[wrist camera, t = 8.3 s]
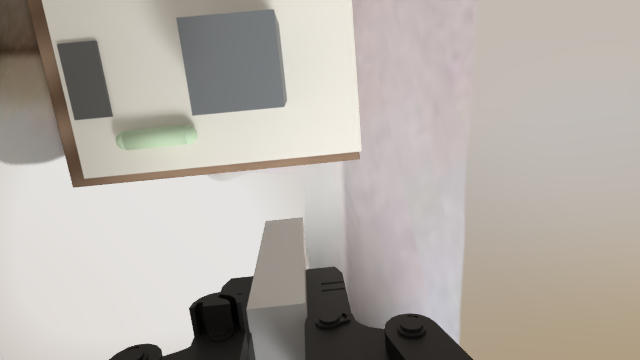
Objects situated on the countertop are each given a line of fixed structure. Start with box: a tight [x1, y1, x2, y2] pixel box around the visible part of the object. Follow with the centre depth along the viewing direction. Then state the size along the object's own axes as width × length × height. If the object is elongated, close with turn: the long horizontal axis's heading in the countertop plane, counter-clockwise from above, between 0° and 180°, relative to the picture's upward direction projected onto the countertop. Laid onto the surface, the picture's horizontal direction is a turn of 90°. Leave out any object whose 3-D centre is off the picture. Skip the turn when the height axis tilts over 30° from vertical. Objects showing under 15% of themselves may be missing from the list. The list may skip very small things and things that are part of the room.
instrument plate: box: [42, 0, 362, 179], centre depth 31 cm, size 16×24×9 cm, turn 95°
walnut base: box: [27, 0, 360, 187], centre depth 37 cm, size 18×26×3 cm
